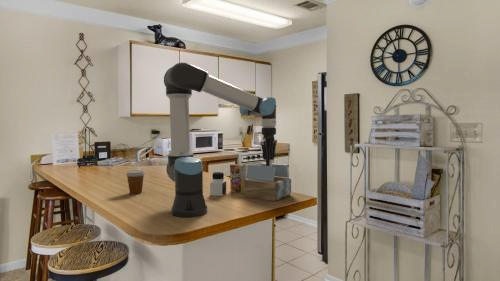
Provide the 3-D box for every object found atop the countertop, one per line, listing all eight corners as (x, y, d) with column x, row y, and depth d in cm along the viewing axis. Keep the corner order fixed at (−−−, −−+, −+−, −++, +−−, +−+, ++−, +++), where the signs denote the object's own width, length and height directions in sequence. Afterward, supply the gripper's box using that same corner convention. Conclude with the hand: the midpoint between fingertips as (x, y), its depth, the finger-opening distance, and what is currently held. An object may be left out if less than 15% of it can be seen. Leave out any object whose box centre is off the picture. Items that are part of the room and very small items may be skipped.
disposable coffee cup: (123, 194, 178) (122, 172, 177) (133, 190, 187) (132, 170, 186) (138, 195, 175) (138, 173, 175) (148, 191, 185) (147, 170, 184)
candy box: (229, 191, 184) (229, 164, 184) (235, 190, 188) (235, 163, 187) (240, 193, 178) (240, 165, 177) (246, 192, 181) (246, 165, 180)
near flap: (247, 178, 171) (249, 165, 172) (273, 181, 162) (275, 167, 163) (246, 178, 170) (248, 165, 171) (272, 181, 161) (274, 167, 162)
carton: (276, 201, 160) (276, 183, 160) (243, 196, 172) (243, 179, 172) (292, 195, 173) (292, 178, 173) (260, 190, 185) (260, 175, 185)
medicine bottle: (222, 196, 173) (222, 173, 172) (209, 195, 174) (209, 173, 173) (226, 193, 180) (226, 171, 179) (213, 192, 181) (213, 171, 180)
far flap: (287, 177, 174) (286, 165, 172) (262, 174, 183) (260, 163, 181) (289, 176, 174) (287, 164, 173) (263, 174, 184) (261, 162, 182)
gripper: (268, 127, 164) (268, 174, 165) (281, 127, 175) (281, 171, 176) (255, 127, 168) (256, 173, 170) (269, 127, 179) (269, 169, 180)
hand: (269, 171), depth 173 cm, fingers closed
